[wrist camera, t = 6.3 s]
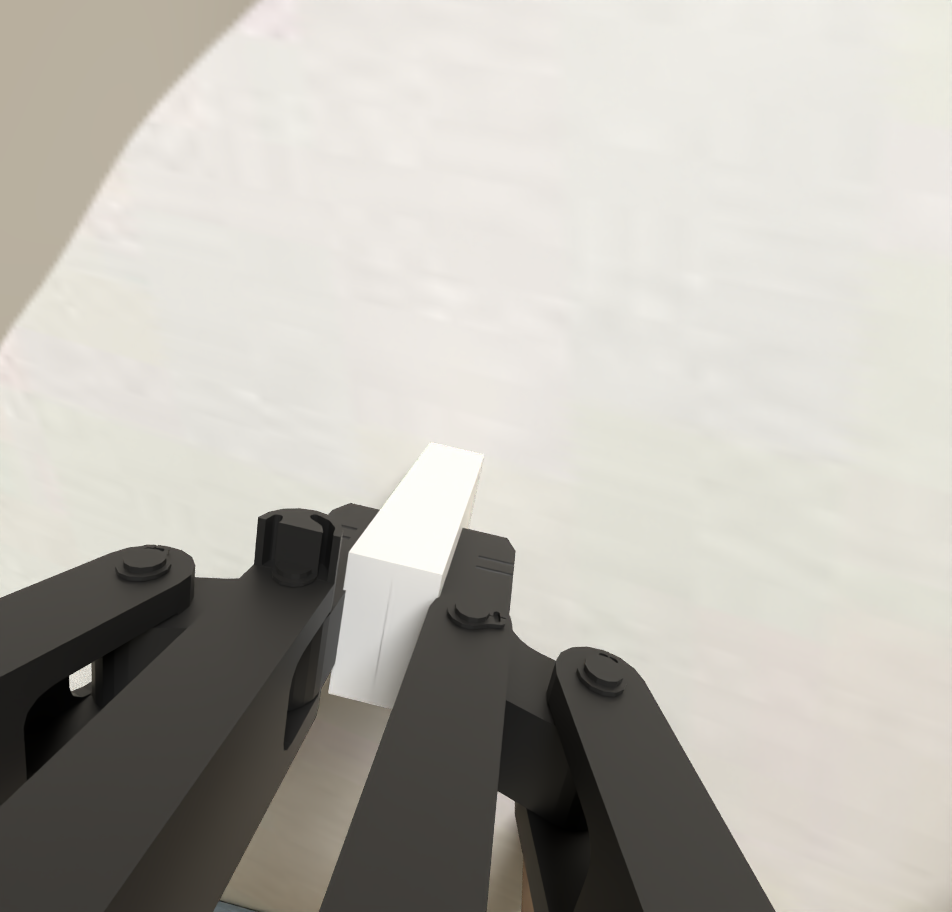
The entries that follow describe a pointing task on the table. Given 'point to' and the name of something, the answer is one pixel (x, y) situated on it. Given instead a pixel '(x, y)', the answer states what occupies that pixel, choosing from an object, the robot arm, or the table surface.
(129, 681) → the robot arm
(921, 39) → the table surface
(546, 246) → the table surface
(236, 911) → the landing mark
